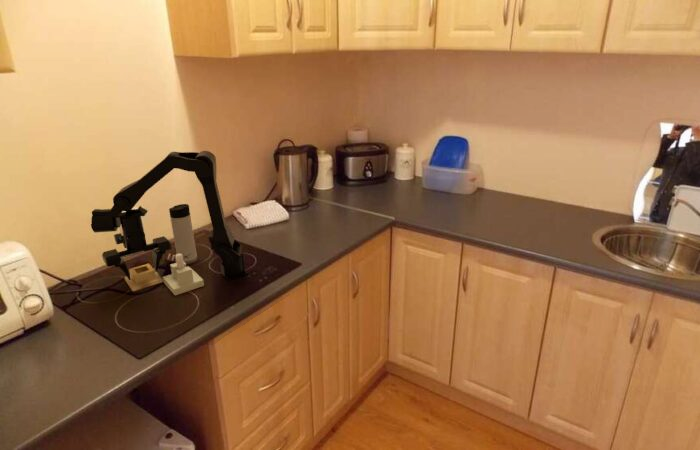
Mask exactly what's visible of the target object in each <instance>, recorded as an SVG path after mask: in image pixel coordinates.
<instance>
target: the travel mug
mask: <svg viewBox="0 0 700 450" xmlns="http://www.w3.org/2000/svg"><path fill="white" fill-rule="evenodd" d="M168 211H169V217H170V224H171V229H172V235H173V239H174V246H175V247H174V248H175V250H176V254H182V256H183V261H184V262H185V263H186V265H189V264H193V263H195V262H197V260H198V255H197V248H196V241H195V237H194V236H195V235H194V230H193V223H192V217H191V213H190V205H189V204H188V203H181V204H177V205H174V206H172V207H171V208H169V209H168Z"/></svg>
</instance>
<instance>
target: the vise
mask: <svg viewBox="0 0 700 450" xmlns="http://www.w3.org/2000/svg"><path fill="white" fill-rule="evenodd" d="M174 257H175V262H174V263H171V264H169V266H170V271H171V274H168V275H164V276H162V279H163V283H164V285H165V286H166V287H167V288H168V289H169V291H171V293H172V294H173V295H174V296H178V295H181V294H184V293H186V292H191V291H193V290H195V289H198V288H201V287H204V286H205V282H204V279H203V278H202V277H201V276H200V275H199V274H198V273H197V272H196V271H195V270H193V269H192V268H191V266H187V264H186V263H185V262H184V261H183V256H182V254H177V253H176V254H175V255H174Z"/></svg>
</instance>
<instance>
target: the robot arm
mask: <svg viewBox="0 0 700 450" xmlns="http://www.w3.org/2000/svg"><path fill="white" fill-rule="evenodd" d="M174 169H176V170H177V169H179V170H181V171H186V172H192V173H194V174H195V176H196V178H197V180H198V181H199V183H200V184H201V186H202V189H203V193H204V194H203V195H204V198H205V201H206V205H207V210H208V213H209V217H210V222H211V226H212V229H211V230H210V233H209V236H208V242H209V243H210V250H211V251H212V250H213V252H214V254H215V255H216V256H218V257H219V258H220V259H221V261H220V265H219V266H220V273H221V275H222V276H223V277H224V278H226V279H227V280H228V281H231V280H234V279H237V278H241V277H242V276H243V277H244V276H247V275H248V271H247V270H246V268H245V258H244V254H242V248H243V247H242V246H243V244H242V243H241V242H239V241H238V240H236V239H235V237H234V235H233V233H232V230H231V229H230V227H229V225H228V224H227V222H226V221H227V220H226V218H225V212H224V208H223V204H222V200H221V195H220V191H219V188H218V183H217V159H216V155H215V154H214V153H213V152H212V151H208V150H202V151H200V152H196V151H186V152H185V151H184V152H181V151H171V152H169V153H168V154H167V156H165V157H164V159H162V160H161V161H160V162H159V163H157V164H156V165H155V166H154V167H152V169H150V170H149V171H148V172H147V173H146V174H144V175H143V176H142V177H141V178H139V179H137V180H136V181H133V182H131V183H129V184H128V185H125V186H124V187H121V189H119V191H118V192H117V193H116V194H115V195H114V196H113V198H112V201H113V205H112V206H111V208H106V209H105V208H104V209H99V208H95V209H93V210H92V211H91V220H90V221H91V222H90V223H91V224H90V226H91V230H92V231H93V233H108V232H109V233H110V232H117V231H118V229H119V228H121V230H122V233H121V232H120V233H116V234H113V237H114V241H115V244H116V245H121V244H122V245H123V248H124V249H125V250H122V251H118V250H117V249H116V248H114V249H110V250H109V249H108V250H106V251H103V253H102V254H101V257H102V260H103V262H104V263H105V265H106V267H114V268H118V267H119V268H120V270H122V271H123V273H124V274H125V277H127V278H128V279H129V280H131V279H130V272H129V269H128V266H127V263H126V261H124V258H127V257H130V256H134V255H138V254H141V253H144V252H145V253H146V252H149V251H151V254H152V262H153V269H154V270H155V272H157V273H158V269H159V267H160V266H159V265H160V262H161V261H162V258H163V256H164V254H167V253H166V252H167V251H170V250H172V243H171V241H170V240H169V239H168V238H167V237H165V236H163V235H162V236H159V237H156V238H153V239H152V242H151V243H147V239H146V233H145V230H144V226H143V220H142V219H143V218H142V217H145V216H146V215H147V213H148V212H149V211H148V210H147V208H143V207H142V206H141V205H139V206H138V208H134V207H135V206H136V205H137V204H138V203H139V201H140V200H141V198H142V197H143V196H144V194H146V193H147V191H149V190H150V189H152V187H154V186H155V185H156V184H157V183H159V181H161V180H162V179H164V178H165V176H166V175H168V174H169V173H171V172H172V171H173V170H174Z"/></svg>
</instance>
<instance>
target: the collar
mask: <svg viewBox="0 0 700 450" xmlns="http://www.w3.org/2000/svg"><path fill="white" fill-rule="evenodd" d="M128 272H129V275H130V276H131V278H132V280H133V281H134V282H135V284H136V285H138V284H141V283H144V282H148V281H151V280H154V279H156V274H155V270H154V267H153V266H152V265H151V264H150V263H149V262H148V263H146V264H142V265H138V266H135V267H131V268H129V269H128Z"/></svg>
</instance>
